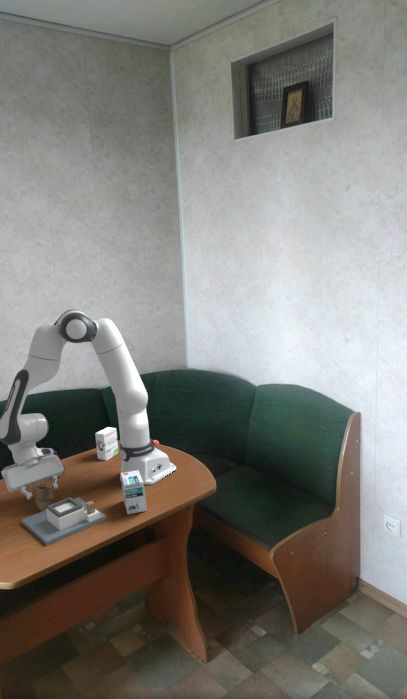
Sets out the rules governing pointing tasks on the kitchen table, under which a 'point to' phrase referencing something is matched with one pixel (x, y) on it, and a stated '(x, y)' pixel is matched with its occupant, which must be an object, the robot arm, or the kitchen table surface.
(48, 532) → the build plate
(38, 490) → the walnut block
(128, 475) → the light bulb box
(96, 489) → the kitchen table surface
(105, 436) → the ink box
